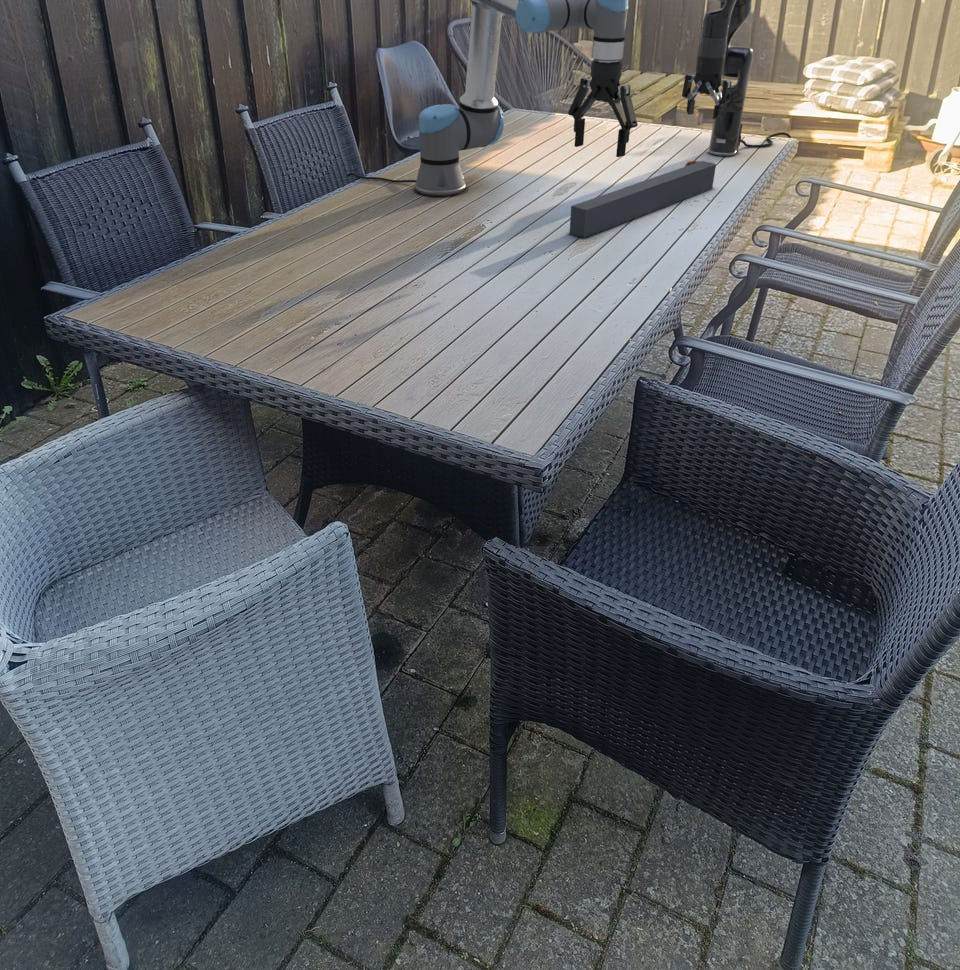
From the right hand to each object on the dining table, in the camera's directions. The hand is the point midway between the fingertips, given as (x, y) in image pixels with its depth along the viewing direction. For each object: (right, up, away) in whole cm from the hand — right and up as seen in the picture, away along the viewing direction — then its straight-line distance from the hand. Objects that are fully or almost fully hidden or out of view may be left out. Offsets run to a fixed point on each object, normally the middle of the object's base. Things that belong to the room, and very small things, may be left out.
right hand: (702, 116), depth 244 cm
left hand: (-34, -21, -27) cm, 48 cm away
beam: (-17, -27, -1) cm, 32 cm away
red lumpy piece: (+5, -7, +28) cm, 29 cm away
